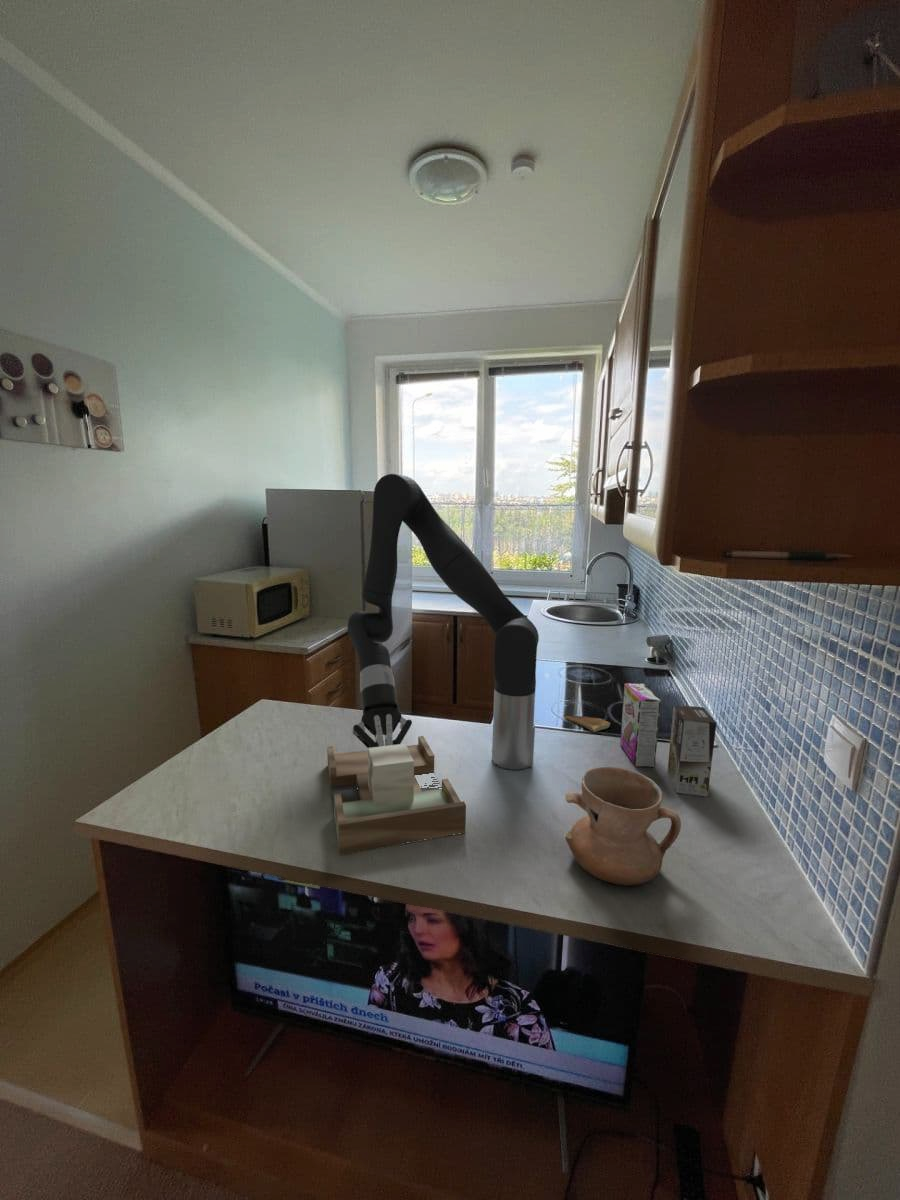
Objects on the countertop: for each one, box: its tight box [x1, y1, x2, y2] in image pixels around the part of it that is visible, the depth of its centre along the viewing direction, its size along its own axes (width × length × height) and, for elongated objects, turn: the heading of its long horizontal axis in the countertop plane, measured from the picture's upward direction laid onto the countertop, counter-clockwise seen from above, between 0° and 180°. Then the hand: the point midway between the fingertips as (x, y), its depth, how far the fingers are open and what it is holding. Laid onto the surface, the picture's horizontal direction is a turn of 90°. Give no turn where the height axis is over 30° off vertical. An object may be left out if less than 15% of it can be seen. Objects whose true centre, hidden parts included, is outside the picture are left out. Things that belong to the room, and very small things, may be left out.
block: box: [367, 743, 414, 806], centre depth 97 cm, size 8×8×8 cm
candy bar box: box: [619, 682, 662, 768], centre depth 119 cm, size 11×5×16 cm, turn 179°
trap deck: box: [326, 735, 467, 856], centre depth 101 cm, size 31×22×6 cm
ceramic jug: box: [564, 765, 682, 886], centre depth 81 cm, size 18×14×14 cm
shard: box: [563, 714, 611, 733], centre depth 139 cm, size 11×8×2 cm
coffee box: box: [666, 704, 718, 797], centre depth 107 cm, size 9×6×16 cm
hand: (387, 768), depth 101 cm, fingers closed
